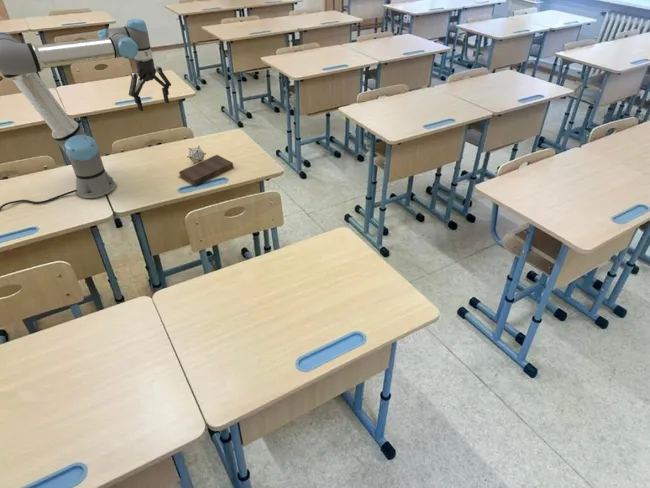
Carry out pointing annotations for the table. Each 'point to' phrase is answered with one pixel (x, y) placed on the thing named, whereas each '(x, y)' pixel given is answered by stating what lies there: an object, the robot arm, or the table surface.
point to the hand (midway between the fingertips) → (154, 106)
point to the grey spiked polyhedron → (196, 155)
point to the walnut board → (206, 170)
